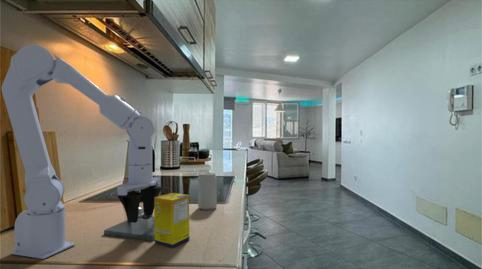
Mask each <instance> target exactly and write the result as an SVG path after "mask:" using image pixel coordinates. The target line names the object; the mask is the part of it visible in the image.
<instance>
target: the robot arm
mask: <svg viewBox="0 0 482 269" xmlns="http://www.w3.org/2000/svg"><path fill="white" fill-rule="evenodd" d="M54 58H55V59H54ZM3 80H4V81H3V82H2V84H1V86H0V87H1V93H2V97H3V100H4V103H5V107H6V111H7V114H8V117H9V121H10V124H11V128H12V130H13V134H14V137H15V141H16V144H17V148H18V151H19V155H20V159H21V162H22V165H23V167H24V185H25V194H24V199H23V200H24V204H25V207H27V208H26V209H25V210H23V211H22V212H20V213H19V214H18V215H17V217H16V219H15V221H14V250H11V251H10V254H11V255H15V256H21V257H22V256H23V257H28V258H29V257H30V258H34V259H41V260H42V259H43V260H44V259H47V258H49V257H51V256H53V255H56V254H58V253H60V252H62V251H64V250H66V249H70V248H72V247H73V246H75V245H76V244H75V242H71V241H66V205H65V204H64V203H63V202H62V201H61V199H62V198H63V197H64V194H65V192H66V190H65V188H66V187H65V185H64V183H63V182H62V180H60V179H59V178H58V176H57V173H56V170H55V169H54V166H53V165H52V162H51V159H50V155H49V152H48V151H49V150H48V148H47V145H46V144H47V143H46V141H45V137H44V134H43V129H42V126H41V123H40V121H39V116H38V113H37V109H36V106H35V101H34V99H33V96H34V94H36V93H37V92H38V90H39V89H40V88H41V87H42V86H43V85H47V84H48V83H49V82H52V81H53V80H54V81H55V83H56V84H66V85H70V86H71V87H72V88H74V89H75V90H76V91H78V92H79V93H81V94H82V95H83V96H85V97H87V98H88V99H90V100H91V101H93V102H94V103H95V104H96V105H98V108H99V113H100V115H102V116H103V117H105V118H106V119H108V120H109V121H110V122H112V123H113V124H115V125H116V126H118V128H120V129H121V130H126V132H127V135H128V144H129V145H128V147H127V150H128V151H127V153H128V154H127V155H128V159H127V160H128V164H127V166H128V167H127V168H128V170H127V171H128V176H127V177H128V182H126V183H124V184H122V185H119V186H117V198H118V200H119V201H120V203H121V204H122V206H123V209H124V212H125V214H126V220H127V219H128V222H132V223H136V222H137V220H138V211H139V205H140V203H141V200H142V206H143V210H144V214H148V215H153V214H154V197H158V196H160V193H161V191H162V186H160V185H161V177H153V145H152V144H153V138H152V136H153V135H154V133H155V127H154V124H153V121H152V120H151V119H150V118H148V117H146V116H141V114H143V113H142V111H141V110H140V109H139V110H136V109H135V108H134V107H133V106H131V105H130V104H129V103H127V102H126V101H127V99H126V98H125V97H123V96H120V97H119V96H118V95H116V94H110V95H109V94H108V93H105V92H104V91H103V90H102V89H101V88H99V87H98V86H97V85H96V84H95V83H93V82H92V80H90V79H88V78H87V77H86V76H85V75H84V74H82V73H81V72H80V71H79V70H77V69H76V68H75V67H74V66H73V65H71V64H69V63H68V62H67V61H65V60H64V59H63V58H61V57H59V56H57V55H56V54H52V53H51V52H50V51H49V50H48V49H47V48H45V47H44V46H42V45H39V44H27V45H25V46H22V47H21V48H20V49H19V50H18V51H17V52H16V53H15V54H13V55H12V56H11V58H10V66H9V67H8V70H7V72H6V75H5V78H4V79H3ZM138 191H139V192H140V193H137V192H138ZM153 216H154V215H153Z"/></svg>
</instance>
